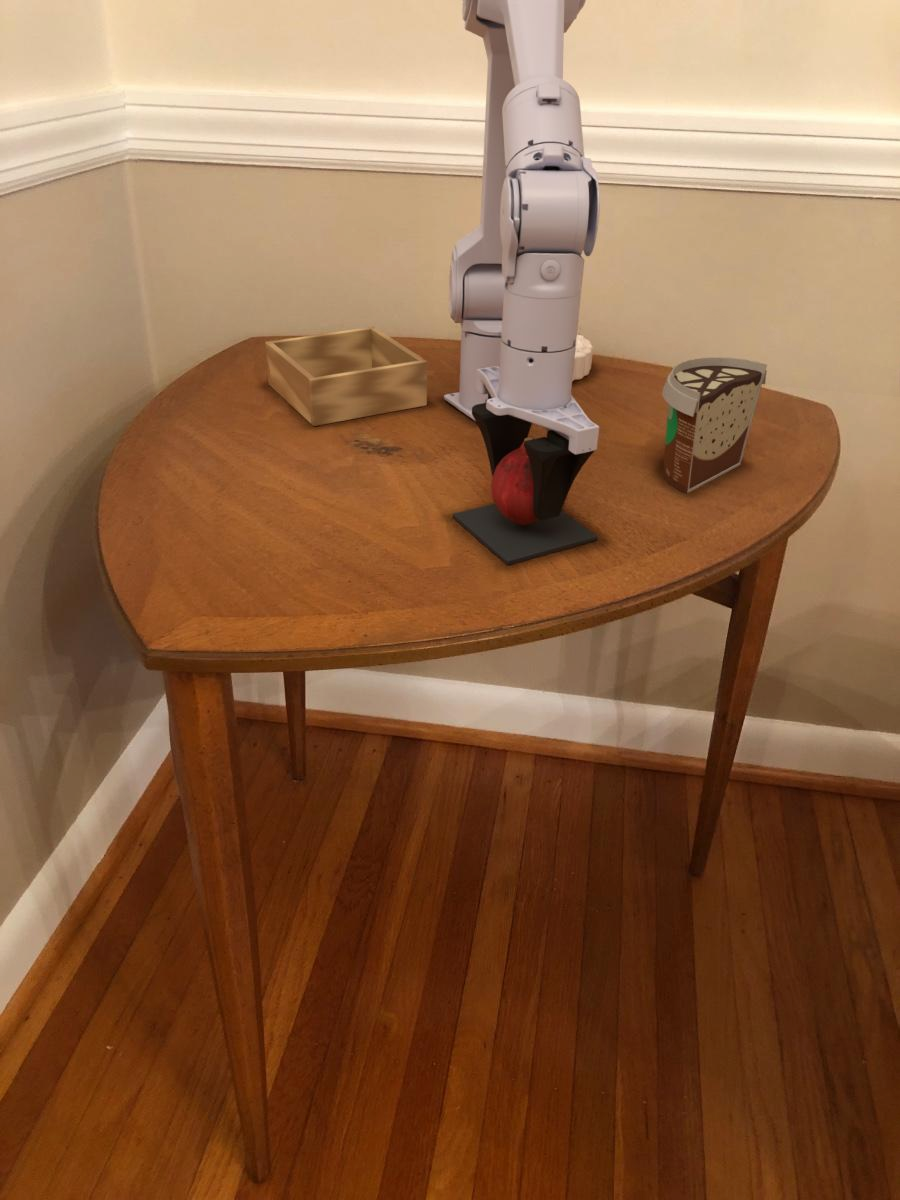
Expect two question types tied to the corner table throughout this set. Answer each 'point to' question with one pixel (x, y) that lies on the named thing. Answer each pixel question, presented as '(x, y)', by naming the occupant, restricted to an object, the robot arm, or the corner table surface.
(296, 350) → the wooden box
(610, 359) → the corner table surface
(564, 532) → the mat
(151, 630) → the corner table surface
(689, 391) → the food container
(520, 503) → the onion
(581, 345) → the mooncake
